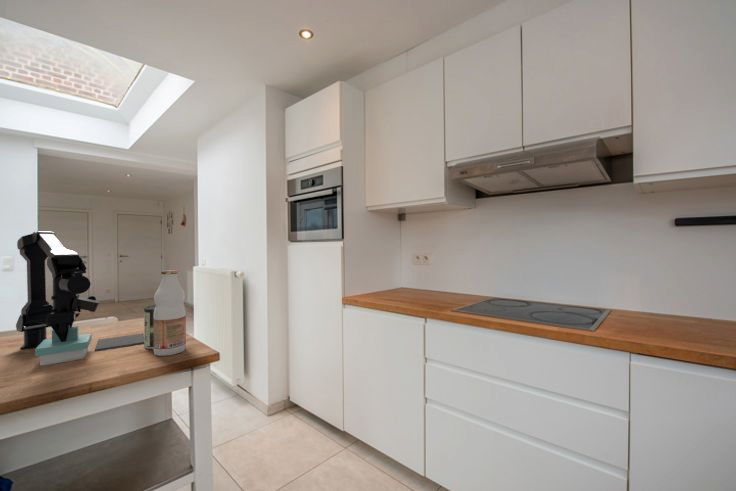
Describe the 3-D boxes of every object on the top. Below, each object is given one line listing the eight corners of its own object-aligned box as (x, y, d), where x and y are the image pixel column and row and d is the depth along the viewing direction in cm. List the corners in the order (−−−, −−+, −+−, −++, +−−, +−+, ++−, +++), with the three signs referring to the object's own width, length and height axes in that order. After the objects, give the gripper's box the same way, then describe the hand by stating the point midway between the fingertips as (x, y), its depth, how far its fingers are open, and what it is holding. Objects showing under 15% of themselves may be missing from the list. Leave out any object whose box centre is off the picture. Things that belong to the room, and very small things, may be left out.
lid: (44, 346, 104) (44, 327, 104) (91, 339, 111) (91, 322, 111) (35, 356, 95) (35, 335, 95) (87, 348, 102) (87, 329, 102)
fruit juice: (147, 356, 104) (146, 271, 103) (164, 347, 113) (163, 269, 113) (176, 356, 104) (176, 271, 104) (191, 346, 113) (190, 269, 113)
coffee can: (183, 341, 120) (183, 304, 120) (161, 350, 110) (160, 310, 110) (161, 339, 122) (160, 303, 122) (136, 348, 112) (136, 308, 112)
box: (47, 356, 104) (47, 342, 104) (87, 350, 110) (87, 337, 110) (40, 365, 96) (40, 351, 96) (84, 358, 102) (84, 344, 102)
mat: (98, 341, 120) (98, 339, 120) (143, 334, 128) (143, 333, 128) (94, 351, 109) (94, 349, 109) (144, 343, 117) (144, 341, 117)
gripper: (94, 292, 100) (95, 341, 100) (100, 286, 115) (100, 328, 115) (45, 296, 94) (45, 348, 94) (57, 288, 109) (58, 334, 109)
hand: (65, 339), depth 103 cm, fingers open, 6 cm apart
